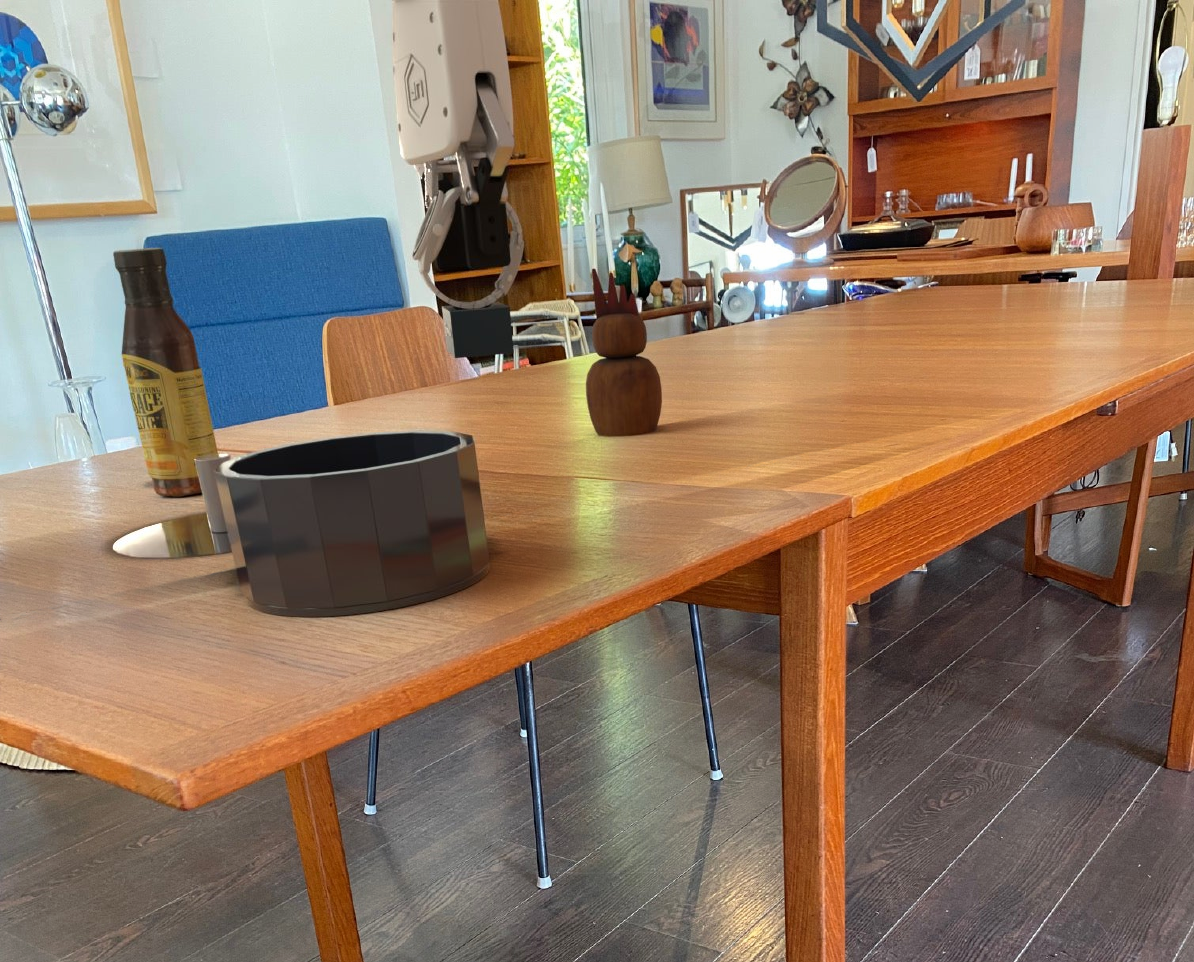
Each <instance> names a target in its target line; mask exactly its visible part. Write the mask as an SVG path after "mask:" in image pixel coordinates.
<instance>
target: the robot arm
mask: <svg viewBox="0 0 1194 962" xmlns="http://www.w3.org/2000/svg"><path fill="white" fill-rule="evenodd" d="M392 1H393V2H392V5H391V46H392V47H391V52H392V70H393V85H394V87H393V88H394V97H395V98H394V99H395V109H396V110H395V111H396V121H397V122H396V123H397V132H398V142H399V143H398V144H399V151H400V156H401V157H402V159H403V161H404V162H406V163H407V164H408V165H409V166H410V165H411V166H413V167H414V169H415V172H416V173H417V174H418V176H419V178H420V182H421V185H422V187H423V189H424V191H425V192H424V195H425V206H426V207H425V208H426V209H427V210H428V208H429V206H430V204H431V202H432V200H433V199H434V197H435V195H436V193H437V192H438V191H439V190H440V191H442V192H443V194H445V193H446V192H448V191H449V190H451V189H452V188H456V187H462V186H463V190H464V192H460V196H459V198H458V199H457V200H456V201H455V212H454V216H453V219H452V222H451V225H450V228H449V231H448V233H447V236H446V238H445V241H444V243H443V245H442V247H441V250H440V252H439V254H438V255H437V257H436V259H435V260H434V261H433V262H434V267H435V269H436V270H437V271H439V272H446V271H456V270H457V271H459V270H470V269H471V270H475V269H489V268H503V267H504V266H508V265H509V264H510V262H511V257H510V246H509V245H510V236H509V235H510V234H509V226H508V225H509V224H508V215H507V213H506V201H507V202H508V199H509V190H508V186H507V177H508V173H509V169H510V166H509V163H510V161H511V157H512V155H513V152H514V149H515V145H516V141H515V137H514V136H515V135H514V111H513V110H514V109H513V98H512V87H511V77H510V68H509V63H508V62H509V60H508V53H507V46H506V39H505V38H506V37H505V33H504V25H503V20H502V19H503V18H502V14H501V8H500V4H499V3H500V2H499V0H392ZM450 157H452V159H448V160H447V159H446V158H450ZM441 159H442V160H441ZM443 159H444V160H443ZM445 159H446V160H445ZM474 167H477V169H476V172H475V169H474ZM448 174H452V181H451V179H450V176H449V175H448Z"/></svg>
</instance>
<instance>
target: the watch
mask: <svg viewBox="0 0 1194 962" xmlns="http://www.w3.org/2000/svg"><path fill="white" fill-rule="evenodd" d="M460 192H464V190H463V186H462V187H456V188H452V189H451V190H449V191H448V192H446V193H445V194H443V192H442V191H440V190H439V191H438V192H437V193H436V195H435V197H434V199H433V200H432V202H431V204H430V206H429V208H428V209H427V210H426V213H425V215H424V218H423V220H422V223H421V225H420V227H419V231H418V233H417V237H416V240H415V243H414V246H413V250H412V256H411V257H412V260H414V261H417V265H418V266H417V267H418V272H419V274H420V276H421V278H422V279H423V281H424V283H425V285H426V286H427V287H428V288H429V290H430V291H431V292H432V293H433V294H434V295H435V296H437V297H438V298H439V299H440V300H442V301H443V302H445V303H447V304H449V305H442V306H441V310H442V311H441V312H442V320H443V329H444V339H445V347H446V348H445V349H446V351H447V352H448V353H449V354H450V355H451V356H452V357H453V358H454V359H462V358H474V357H485V356H496V355H507V354H508V355H509V354H514V351H515V350H514V339H513V329H512V317H511V307H510V306H509V305H506V304H505V303H503V302H500V301H497V299H500V298H505V296H507V294H508V293H509V290H510V289H511V287H512V285H513V283H514V281H515V279H516V277H517V274H518V271H519V268H520V266H521V262H522V258H523V254H524V248H525V240H524V239H523V237H524V236H523V235H524V234H523V228H522V223H521V222H520V219H519V217H518V214H517V212H516V211H515V209H514V208H513V207H512V205H511V204H510V203H509V201H508V200H507V201H506V213H507V218H508V220H509V221H510V223H511V228H512V230H511V231H510V239H509V246H510V257H511V262H510V264H509V265H508V266H503V267H502V270H501V272H500V274H499V277H498V278H497V280H496V281H495V282H494V287H495V289H494V291H492V292H491V294H489V295H487V296H486V297H484V298H482V299H480V300H474V301H471V302H469V301H458V300H456V299H452V298H450V297H448V296H446V295H445V294H444V293H442V292H441V291H440V290H439V289H438V288H437V286H436V285H435V284H434V282H432V280H431V277H430V276H429V273H430V272H431V266H432V265H431V264H432V263H434V262H435V261H434V260H435V259H436V257H437V255H438V254H439V252H440V250H441V247H442V245H443V243H444V241H445V238H446V236H447V233H448V231H449V228H450V225H451V222H452V219H453V216H454V212H455V201H456V200H457V199H458V198H459V196H460Z"/></svg>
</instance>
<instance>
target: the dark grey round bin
mask: <svg viewBox="0 0 1194 962" xmlns="http://www.w3.org/2000/svg"><path fill="white" fill-rule="evenodd" d="M475 443H476V442H475V439H474V436H473V435H472V434H468V433H464V432H463V433H462V432H457V431H452V430H421V429H420V430H401V431H398V430H397V431H382V432H371V433H370V432H369V433H361V434H352V435H351V434H350V435H342V436H333V437H325V438H320V439H314V440H306V441H302V442H295V443H288V444H283V445H279V446H275V447H270V448H266V449H261V450H256V451H253V452H249V453H246V454H243V455H241V456H240V455H239V456H238V457H234V458H231V460H229V461H226V462H223V463H222V464H221V465H220V466H219V467H218V468H217V469H216V470H215V471H214V473H215V477H216V482H217V486H218V491H219V495H220V500H221V504H222V509H223V513H224V518H225V522H226V527H227V531H228V536H229V540H230V545H231V549H232V552H231V553H232V558H233V563H234V567H235V572H236V575H237V579H238V584H239V589H240V593H241V594H243V595H244V600H245V603H246V604H247V605H248V607H250V608H252V609H254V610H256V611H260V612H262V613H267V614H270V615H277V616H285V617H299V618H301V617H302V618H304V617H305V618H307V617H308V618H315V617H316V618H320V617H323V618H324V617H339V616H340V617H341V616H351V615H352V616H353V615H362V614H363V615H364V614H370V613H377V612H383V611H388V610H394V609H395V610H396V609H399V608H404V607H409V606H415V605H418V604H422V603H426V602H430V601H433V600H436V599H441V598H443V597H447V596H450V595H452V594H455V593H457V592H461V591H462V590H465V589H467V588H469V587H471V586H472V585H474V584H476V583H478V582H479V581H481V580H482V579H483V578H484V577H485V576H486V575H488V572H490V570H491V569H490V567H491V564H490V562H491V561H490V554H489V553H490V551H489V545H488V544H489V543H488V537H487V530H486V529H487V527H486V523H485V522H486V521H485V512H484V505H483V497H482V490H481V482H480V474H479V473H480V472H479V467H478V459H477V452H476V444H475Z"/></svg>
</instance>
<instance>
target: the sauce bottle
mask: <svg viewBox="0 0 1194 962" xmlns="http://www.w3.org/2000/svg"><path fill="white" fill-rule="evenodd" d="M165 253H166V252H165V250H164V248H162V247H146V248H134V249H118V250H114V251H113V255H112V256H113V261H114V268H115V270H116V271H117V272H118V273H119V278H120V283H121V287H122V292H123V297H124V304H125V305H124V306H125V308H124V309H125V310H124V321H123V331H122V344H121V354H120V355H121V359H122V364H123V365H122V366H123V368H124V372H125V377H126V381H127V385H128V390H129V396H130V400H131V405H132V409H133V412H134V417H135V420H136V427H137V430H138V434H139V439H140V443H141V448H142V453H143V456H144V460H145V465H146V468H147V469H146V470H147V474H148V476H149V477H150V478H151V483H152V486H153V491H154V492H155V494H156V495H159V496H162V497H163V496H164V497H167V496H168V497H175V498H178V497H185V496H191V495H197V494H202V490H201V486H200V481H199V477H198V473H197V468H196V464H195V459H196V458H198V457H201V456H206V455H212V454H219V452H218V447H217V442H216V436H215V431H214V426H213V421H212V417H211V412H210V405H209V403H208V402H209V400H208V397H207V391H206V386H205V380H204V376H203V371H202V370H203V369H202V367H201V366H200V364H199V363H200V362H199V357H198V354H197V353H198V352H197V347H196V341H195V338H194V335H193V333H192V331H191V329H190V328H189V326H188V325H187V323H186V322H185V321H184V320H183V318H182V317H181V316H180V315H179V314H178V312H177V311H176V309H175V308H174V297H173V296H172V294H171V289H170V283H169V279H168V274H167V264H168V262H167V257H166V254H165Z"/></svg>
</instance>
